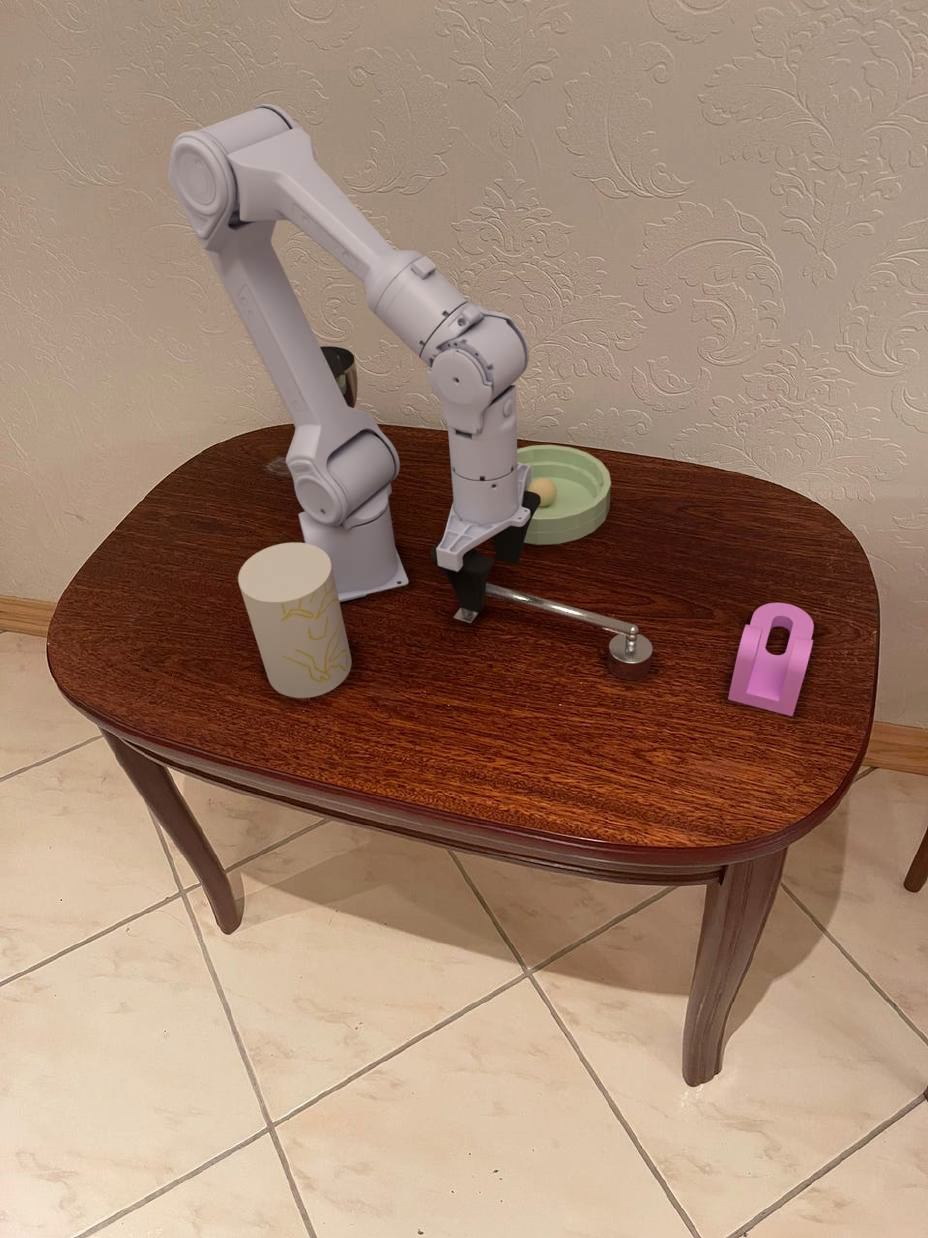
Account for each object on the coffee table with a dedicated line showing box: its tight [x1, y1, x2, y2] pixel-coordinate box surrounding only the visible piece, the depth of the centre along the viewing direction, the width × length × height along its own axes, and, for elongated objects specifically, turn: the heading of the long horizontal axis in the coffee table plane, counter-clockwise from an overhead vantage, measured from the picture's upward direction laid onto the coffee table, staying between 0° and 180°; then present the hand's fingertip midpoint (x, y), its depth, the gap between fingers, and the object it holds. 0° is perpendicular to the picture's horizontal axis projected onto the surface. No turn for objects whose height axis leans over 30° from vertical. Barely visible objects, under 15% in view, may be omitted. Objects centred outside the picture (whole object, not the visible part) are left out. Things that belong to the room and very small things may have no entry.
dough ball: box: [529, 478, 557, 506], centre depth 101 cm, size 3×3×3 cm
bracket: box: [727, 602, 815, 717], centre depth 80 cm, size 13×6×7 cm, turn 156°
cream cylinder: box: [237, 542, 353, 699], centre depth 82 cm, size 8×8×12 cm
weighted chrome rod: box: [453, 582, 654, 681], centre depth 84 cm, size 20×4×5 cm, turn 63°
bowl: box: [517, 444, 612, 546], centre depth 101 cm, size 15×15×4 cm
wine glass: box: [320, 345, 359, 408], centre depth 105 cm, size 8×8×15 cm
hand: (490, 583), depth 85 cm, fingers open, 7 cm apart
